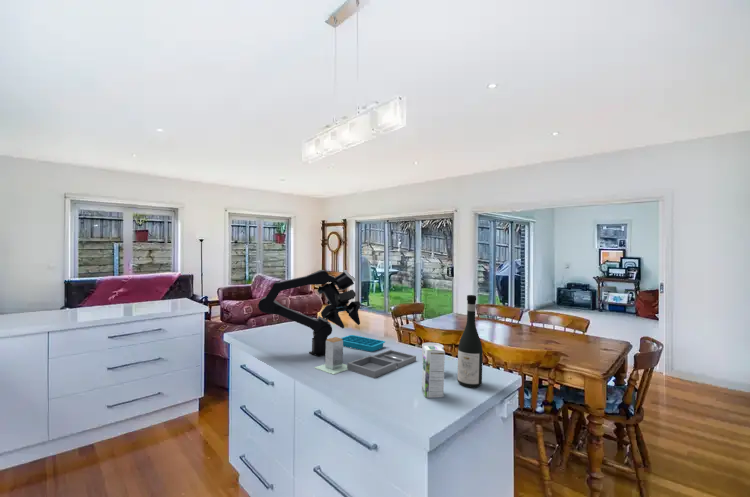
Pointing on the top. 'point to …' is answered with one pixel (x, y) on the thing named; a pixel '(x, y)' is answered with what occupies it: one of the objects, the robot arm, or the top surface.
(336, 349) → the block
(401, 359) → the rod
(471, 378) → the wine bottle
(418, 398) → the top surface
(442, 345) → the white cup
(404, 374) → the top surface
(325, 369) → the mat
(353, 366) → the grey compartment tray
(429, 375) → the syrup box
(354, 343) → the ice cube tray
